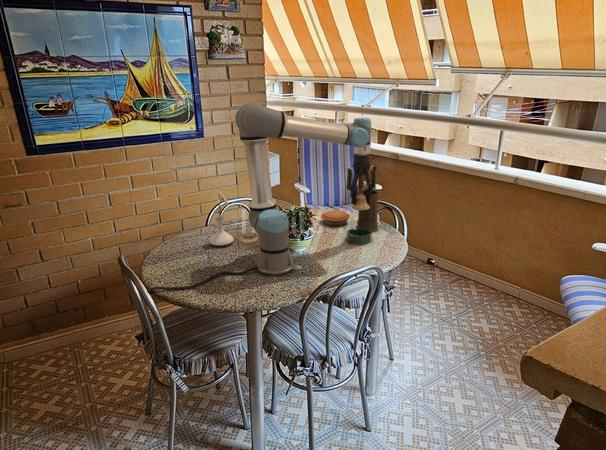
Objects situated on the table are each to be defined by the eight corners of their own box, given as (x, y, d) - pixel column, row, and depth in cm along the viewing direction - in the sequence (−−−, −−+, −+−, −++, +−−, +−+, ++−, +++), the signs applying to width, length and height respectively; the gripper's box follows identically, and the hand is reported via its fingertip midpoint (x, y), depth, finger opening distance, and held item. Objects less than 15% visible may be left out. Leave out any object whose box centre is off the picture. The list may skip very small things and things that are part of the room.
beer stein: (379, 232, 204) (380, 193, 199) (358, 232, 204) (358, 193, 199) (375, 224, 219) (376, 187, 214) (354, 224, 219) (355, 187, 214)
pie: (335, 215, 231) (335, 207, 229) (355, 222, 219) (356, 213, 218) (315, 221, 221) (315, 213, 220) (335, 229, 210) (335, 219, 208)
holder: (352, 245, 189) (352, 237, 188) (343, 237, 200) (343, 229, 198) (375, 242, 192) (375, 234, 191) (364, 234, 203) (365, 226, 201)
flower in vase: (229, 248, 188) (224, 196, 180) (205, 247, 190) (200, 195, 182) (238, 238, 201) (234, 189, 192) (215, 237, 202) (211, 188, 194)
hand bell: (348, 208, 190) (348, 174, 184) (359, 204, 195) (360, 171, 190) (362, 211, 184) (363, 177, 179) (373, 207, 189) (374, 173, 184)
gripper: (344, 156, 175) (344, 208, 183) (385, 153, 180) (383, 203, 188) (338, 153, 182) (338, 203, 190) (377, 150, 187) (375, 199, 195)
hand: (360, 203), depth 189 cm, fingers closed on hand bell, 6 cm apart
